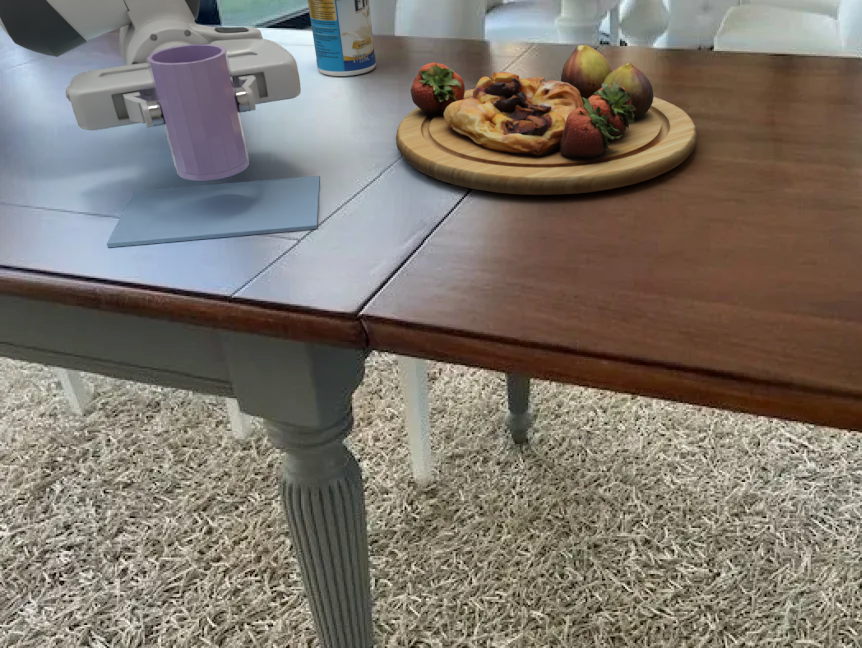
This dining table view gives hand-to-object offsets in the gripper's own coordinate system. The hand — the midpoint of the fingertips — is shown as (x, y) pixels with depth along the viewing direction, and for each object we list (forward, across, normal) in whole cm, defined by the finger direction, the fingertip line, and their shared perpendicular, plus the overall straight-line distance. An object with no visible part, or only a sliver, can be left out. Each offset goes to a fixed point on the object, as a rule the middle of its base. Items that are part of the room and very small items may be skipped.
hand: (201, 109), depth 74 cm
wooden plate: (-2, +35, +10) cm, 36 cm away
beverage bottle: (-42, +25, +10) cm, 50 cm away
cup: (-1, 0, +6) cm, 6 cm away
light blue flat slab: (-1, 0, +10) cm, 10 cm away
